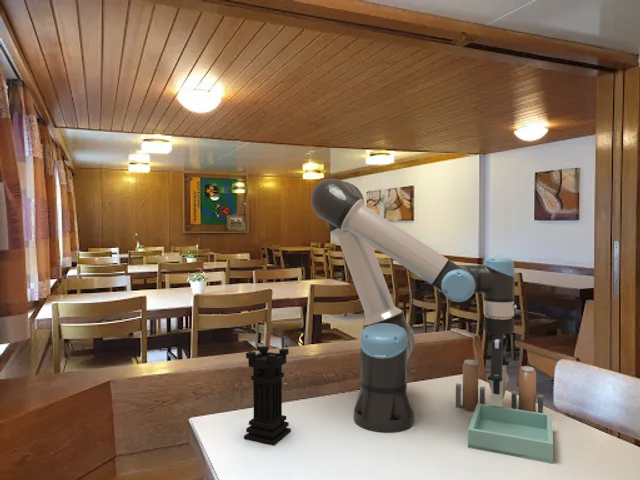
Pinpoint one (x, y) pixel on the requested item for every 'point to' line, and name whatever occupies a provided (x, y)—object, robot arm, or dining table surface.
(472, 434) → the tray
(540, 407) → the clip row
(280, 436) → the chess piece
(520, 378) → the cylinder
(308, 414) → the dining table surface
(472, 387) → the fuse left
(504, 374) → the ice cream cone
